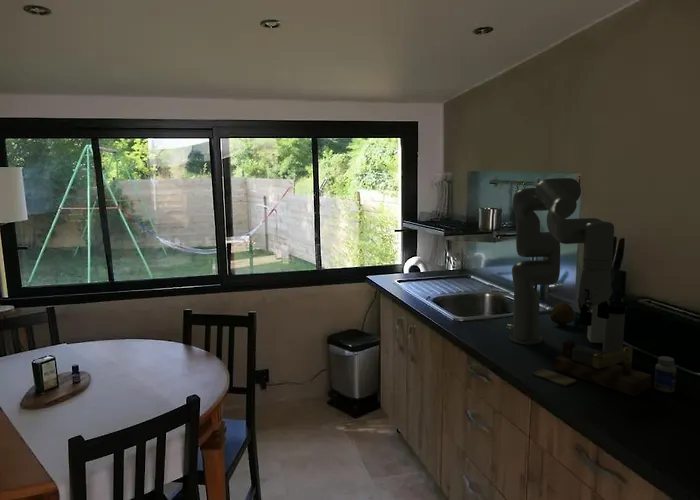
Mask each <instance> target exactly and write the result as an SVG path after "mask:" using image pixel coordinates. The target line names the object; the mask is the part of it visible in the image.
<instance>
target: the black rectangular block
mask: <svg viewBox="0 0 700 500" xmlns="http://www.w3.org/2000/svg"><path fill="white" fill-rule="evenodd" d="M594 353H600V354H605V353H606V352H603V350H598V349H595V348H592V347H588V346H586V345H585V346H584V345H581V344H578V345H576V346H575V347H573V348H572V358H571V361H573V362H576V363H579V364H582V365H585V366H589V367H592V368H595V367H593V357H594ZM608 367H609V366H607V367H603V368H599V369H598V368H595V369H598V370H601V371H602V370H604V369H606V368H608Z"/></svg>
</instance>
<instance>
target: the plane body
mask: <svg viewBox="0 0 700 500" xmlns="http://www.w3.org/2000/svg"><path fill="white" fill-rule="evenodd" d="M575 343H576V342H575V341H573V340H570V339H567V340H564V341H562V354H560V355H557V356H555V357H554V358H553V359H554V361H553V370H556V371H559V372H561V373H565V374H567V375H570V376H573V377H576V378H578V379H580V380H581V379H582V380H585V381H587V382H591V383H593V384H597V385H599V386H603V387H605V388H607V389H610V390H614V391H617V392H620V393H623V394H626V395H629V396H632V397H635V398H636V397H637V396H639V395H640V394H642V393H644V392H645V391H647V390H649V389H650V388H651V387H652V386H651V385H652V377H653V376H652V374H650V373H646V372H643V371H640V370H637V369H633V368H631V375H625V374H623V373H622V366H623V365H620V364H618V363H617V364H614V365H610V366H609V367H608V368H606V369H604V370H602V371H601V370H598V369H595V368H592V367H589V366H585V365H582V364H579V363H576V362H573V361H571V358H572V348H573V347H576V346H575V345H576V344H575Z"/></svg>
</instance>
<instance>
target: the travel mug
mask: <svg viewBox="0 0 700 500" xmlns="http://www.w3.org/2000/svg"><path fill="white" fill-rule="evenodd" d="M627 305H628V304H627V303H626V302H625V301H610V306H609V319H604V335H603V343H602V351H603V352H606V353H609V352H613V351H616V350H620V349H624V336H625V332H624V331H625V323H626V322H625V320H626V306H627Z"/></svg>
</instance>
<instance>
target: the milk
mask: <svg viewBox="0 0 700 500" xmlns="http://www.w3.org/2000/svg"><path fill="white" fill-rule="evenodd" d="M589 302H591V301H589ZM599 304H600V303H599ZM591 312H592V322H591V326H587V334H586V335H587V336H586V337H587V340H588V341H589V342H590V343H591V344H592V343H594V344H603V335H604V318H599V317H598V316H597V313H598V304H596V305H593V307H592V309H591Z"/></svg>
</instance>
